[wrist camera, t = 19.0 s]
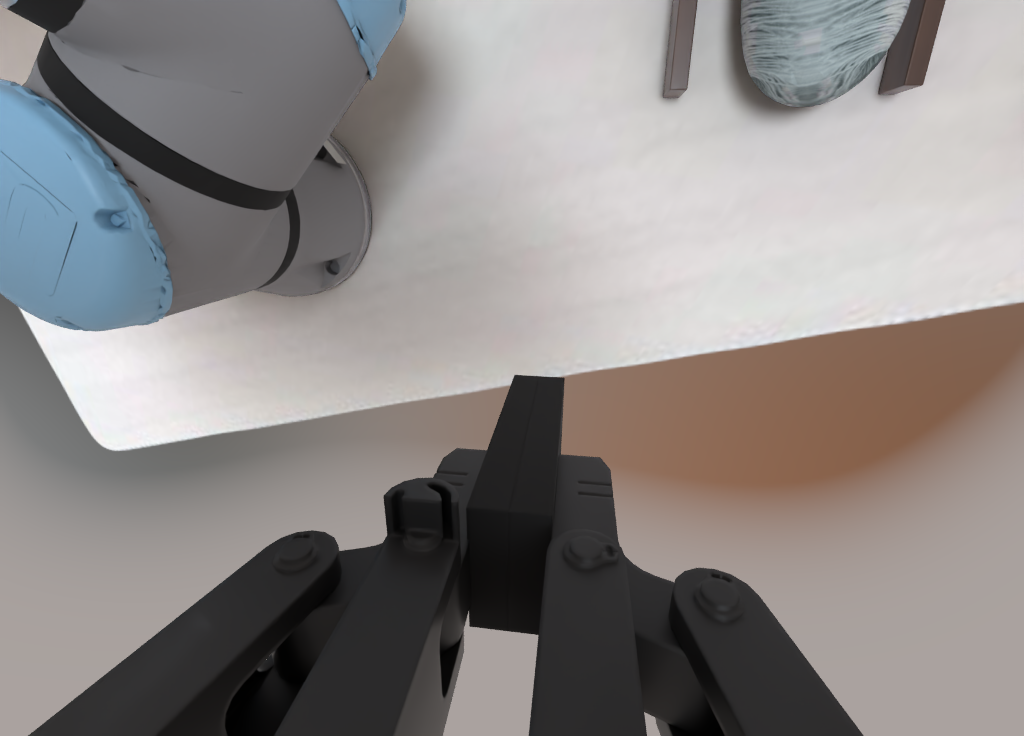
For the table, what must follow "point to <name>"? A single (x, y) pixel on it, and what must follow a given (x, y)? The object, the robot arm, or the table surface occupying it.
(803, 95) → the grey marbled egg
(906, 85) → the dock
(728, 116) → the table surface
